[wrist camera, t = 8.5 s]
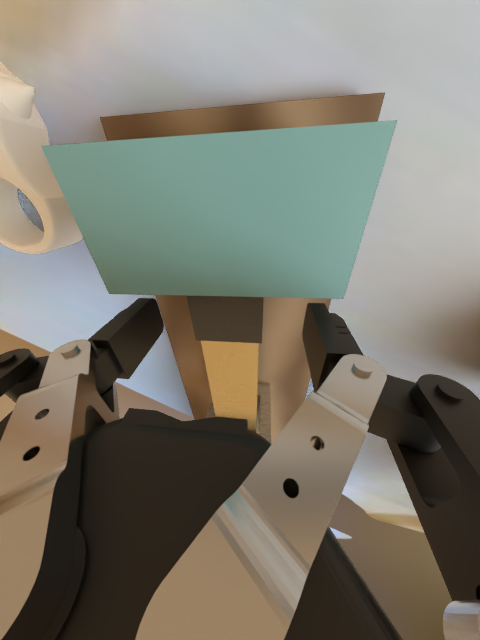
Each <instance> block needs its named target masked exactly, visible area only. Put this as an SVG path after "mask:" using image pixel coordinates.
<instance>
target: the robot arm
mask: <svg viewBox="0 0 480 640" xmlns="http://www.w3.org/2000/svg"><path fill="white" fill-rule="evenodd" d="M163 327H164V324H163V320H162V317H161V314H160V310H159V307H158V304H157V302H156V300H155V299H153V298H139V299H137V300H136V301H135V302H134V303H133V304H132V305H130V306H129V307H128V308H127V309H125V310H123V311H121V312H120V313H119V314H117V315H116V316H115V317H114V319H112V320H110V321H109V322H108V324H106V325H105V326H103V327H102V328H101V329H100V330H99V331H98V332H96V333H95V334H94V335H93V336H92V337H91V338H89V339H88V340H76V341H72V342H69V343H67V344H64V345H62V346H60V347H59V348H57V349H56V350H55V351H53V352H52V353H51V354H50V356H45V357H38V358H36V357H35V356H34V355H33V353H32V352H31V351H30V350H29V349H16V350H13V351H9V352H6V353H4V354H1V355H0V397H1V396H2V395H3V394H6V395H7V396H8V397H9V398H11V399H12V400H13V401H14V402H15V403H16V405H15V407H14V410H13V411H12V412H11V413H10V414H8V415H7V416H6V417H5V418H4V419H3V420H2V421H1V422H0V640H403V639H402V638H401V636H400V635H399V633H398V632H397V630H396V629H395V627H394V626H393V624H392V622H391V621H390V619H389V618H388V616H387V615H386V613H385V612H384V610H383V609H382V607H381V606H380V604H379V603H378V601H377V600H376V598H375V597H374V595H373V593H372V592H371V590H370V589H369V588H368V586H367V584H366V583H365V581H364V580H363V578H362V577H361V575H360V574H359V572H358V571H357V569H356V568H355V566H354V564H353V563H352V561H351V560H350V558H349V557H348V555H347V554H346V552H345V551H344V550H343V548H342V546H341V545H340V543H339V542H338V540H337V539H336V537H335V535H334V534H333V532H332V531H331V529H330V528H329V526H328V525H329V522H330V520H331V517H332V515H333V513H334V510H335V508H336V506H337V503H338V501H339V498H340V496H341V493H342V491H343V489H344V486H345V484H346V481H347V479H348V477H349V474H350V472H351V469H352V467H353V465H354V462H355V460H356V457H357V455H358V453H359V450H360V448H361V445H362V443H363V440H364V438H365V436H366V433H367V432H370V433H372V434H375V435H377V436H380V437H382V438H385V439H387V442H388V444H389V446H390V449H391V451H392V454H393V456H394V459H395V461H396V464H397V466H398V469H399V471H400V473H401V476H402V478H403V481H404V483H405V486H406V488H407V491H408V493H409V495H410V498H411V500H412V503H413V505H414V508H415V510H416V513H417V515H418V517H419V520H420V522H421V525H422V527H423V530H424V532H425V534H426V537H427V539H428V542H429V544H430V547H431V549H432V551H433V554H434V557H435V559H436V561H437V564H438V566H439V569H440V571H441V573H442V576H443V578H444V581H445V583H446V586H447V588H448V591H449V593H450V596H451V598H452V601H453V602H451V603H449V605H448V606H447V607H446V609H445V612H444V616H443V630H444V637H445V640H480V400H479V399H478V397H477V396H476V395H475V394H474V393H472V392H471V391H470V390H469V389H467V388H466V387H464V386H463V385H461V384H459V383H458V382H456V381H454V380H451V379H449V378H446V377H443V376H439V375H432V374H428V375H423V376H421V377H420V378H419V379H418V381H417V382H416V383H414V382H410V381H407V380H403V379H400V378H396V377H393V376H390V375H387V374H386V372H385V370H384V369H383V367H382V366H381V365H380V364H378V363H377V362H376V361H374V360H372V359H370V358H368V357H366V356H364V355H363V354H362V352H361V350H360V348H359V347H358V345H357V343H356V341H355V339H354V338H353V336H352V334H351V332H350V331H349V329H348V328H347V325H346V323H345V322H344V320H343V319H342V318H341V317H339V316H338V315H337V314H335V313H329V311H328V309H327V307H326V305H325V303H308V304H307V307H306V313H305V318H304V324H303V330H302V338H303V343H304V348H305V352H306V357H307V361H308V365H309V370H310V374H311V379H312V383H313V387H314V391H312V392H311V393H310V394H309V395H308V397H307V398H306V399H305V401H304V402H303V403H302V405H301V406H300V407H299V409H298V410H297V411H296V413H295V414H294V415H293V417H292V418H291V419H290V421H289V422H288V423H287V425H286V426H285V427H284V429H283V430H282V431H281V433H280V434H279V435H278V437H277V438H276V439H275V441H274V442H273V443H272V444H271V443H270V442H269V441H268V440H266V439H265V438H264V437H262V436H261V435H259V434H257V433H256V432H254V431H251V430H249V429H248V419H238V418H228V417H211V418H204V419H198V420H192V421H180V420H178V419H175V418H173V417H171V416H168V415H165V414H163V413H161V412H159V411H154V410H144V409H133V408H129V410H128V411H127V413H126V414H125V416H124V417H123V418H122V419H119V408H118V395H117V385H116V384H115V380H116V379H117V378H122V379H129V378H130V377H131V375H132V374H133V372H134V371H135V370H136V368H137V367H138V365H139V364H140V363H141V361H142V360H143V359H144V357H145V356H146V354H147V353H148V352H149V350H150V349H151V347H152V346H153V345H154V343H155V342H156V340H157V339H158V338H159V336H160V335H161V333H162V332H163Z"/></svg>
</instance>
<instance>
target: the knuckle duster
mask: <svg viewBox="0 0 480 640" xmlns="http://www.w3.org/2000/svg"><path fill="white" fill-rule="evenodd" d="M34 92H35V88H34V87H31V86H28V85H26V84H23V82H22V81H21V80H20V79H18V78H17V77H16V76H15V75H13V74H12V73H11V72H10V71H9V70H8V69H7V68H6V67H5V66H4V65H3V64H2V63H1V62H0V243H1V244H3V245H5V246H7V247H9V248H11V249H13V250H16V251H19V252H22V253H27V254H41V253H45V252H49V251H52V250H55V249H58V248H62V247H65V246H68V245H71V244H75V243H77V242H79V241H81V240H82V239H83V236H82V234H81V232H80V230H79V227H78V225H77V223H76V221H75V219H74V217H73V214H72V212H71V210H70V208H69V206H68V204H67V201H66V199H65V197H64V195H63V193H62V191H61V188H60V186H59V184H58V182H57V180H56V178H55V176H54V173H53V171H52V169H51V167H50V165H49V163H48V160H47V158H46V156H45V154H44V152H43V150H42V147H41V146H46V145H50V142H49V137H48V130H47V128H46V126H45V124H44V122H43V120H42V118H41V116H40V114H39V112H38V111H37V109H36V107H35V105H34V103H33V99H34ZM18 189H20V190H21V191H22V192H23V193H24V194H25V195H26V196H27V197H28V198H29V200H30V201H31V202H32V203H33V205H34V206H35V208H36V209H37V211H38V213H39V215H40V217H41V219H42V222H43V226H44V231H42V230H41V229H39V228H38V227H37V226H35V225H34V224H33V223H32V222H31V221H30V219H29V218H28V217H27V216H26V214H25V213H24V211H23V209H22V208H21V205H20V203H19V200H18Z"/></svg>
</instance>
